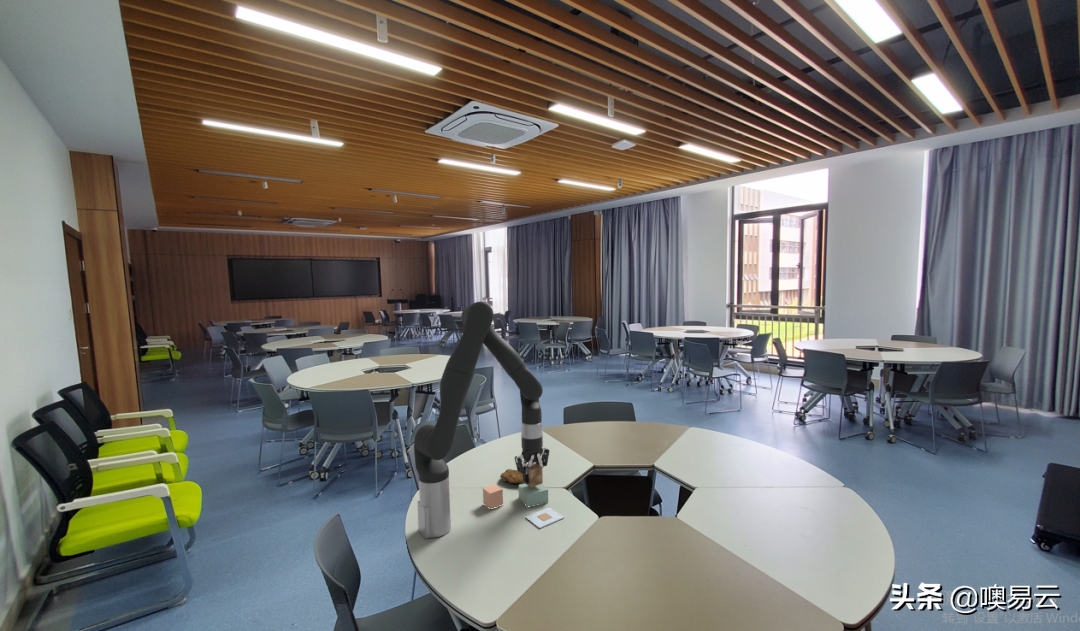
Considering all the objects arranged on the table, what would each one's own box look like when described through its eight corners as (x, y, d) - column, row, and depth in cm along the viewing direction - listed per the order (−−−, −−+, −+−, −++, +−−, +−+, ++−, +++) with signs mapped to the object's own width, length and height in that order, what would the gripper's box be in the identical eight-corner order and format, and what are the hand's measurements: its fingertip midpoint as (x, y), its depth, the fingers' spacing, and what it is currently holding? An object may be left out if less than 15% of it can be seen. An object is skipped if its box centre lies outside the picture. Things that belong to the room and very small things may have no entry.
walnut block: (531, 487, 151) (530, 470, 151) (523, 482, 155) (522, 465, 155) (542, 483, 154) (542, 466, 154) (534, 478, 158) (534, 462, 158)
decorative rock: (498, 489, 165) (538, 489, 165) (498, 479, 164) (538, 479, 164) (500, 474, 176) (537, 475, 176) (500, 465, 175) (537, 465, 176)
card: (539, 528, 137) (539, 527, 137) (525, 518, 143) (525, 516, 143) (564, 518, 143) (564, 516, 143) (549, 508, 149) (549, 506, 149)
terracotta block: (490, 510, 149) (490, 493, 148) (483, 504, 153) (482, 488, 152) (503, 505, 152) (502, 489, 151) (495, 500, 156) (495, 483, 155)
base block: (527, 508, 150) (527, 494, 149) (518, 498, 157) (518, 484, 157) (548, 503, 153) (548, 489, 153) (538, 493, 160) (538, 480, 160)
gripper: (521, 441, 146) (522, 490, 147) (554, 432, 154) (555, 478, 156) (509, 435, 152) (510, 482, 153) (541, 427, 160) (542, 471, 162)
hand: (532, 480), depth 154 cm, fingers closed on walnut block, 5 cm apart
